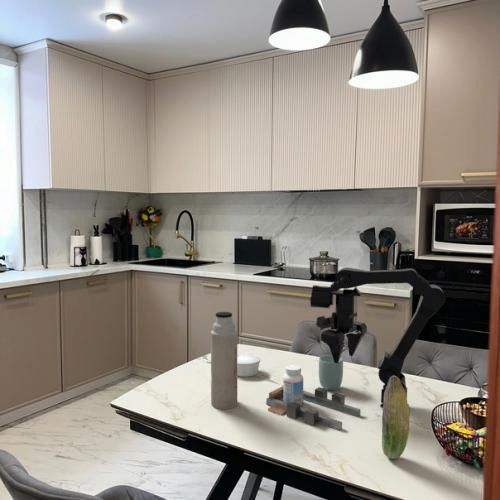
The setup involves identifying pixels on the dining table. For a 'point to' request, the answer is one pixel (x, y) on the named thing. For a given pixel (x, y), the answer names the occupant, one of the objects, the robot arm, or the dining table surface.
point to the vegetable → (394, 419)
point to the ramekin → (247, 365)
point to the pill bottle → (293, 385)
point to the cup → (330, 372)
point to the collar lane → (311, 414)
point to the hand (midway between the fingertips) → (343, 359)
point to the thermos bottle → (224, 362)
